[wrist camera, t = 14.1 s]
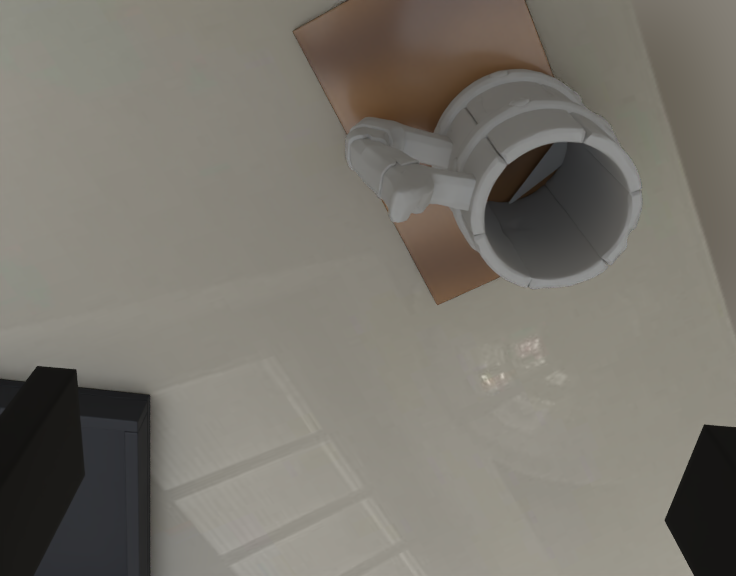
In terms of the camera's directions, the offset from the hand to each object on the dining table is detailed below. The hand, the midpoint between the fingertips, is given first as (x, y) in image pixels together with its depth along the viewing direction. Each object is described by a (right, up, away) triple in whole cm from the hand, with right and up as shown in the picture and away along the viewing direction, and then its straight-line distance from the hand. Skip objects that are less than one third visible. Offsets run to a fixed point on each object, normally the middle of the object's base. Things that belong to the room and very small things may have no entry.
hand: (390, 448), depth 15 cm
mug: (+4, +11, +19) cm, 23 cm away
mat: (+4, +11, +20) cm, 23 cm away
